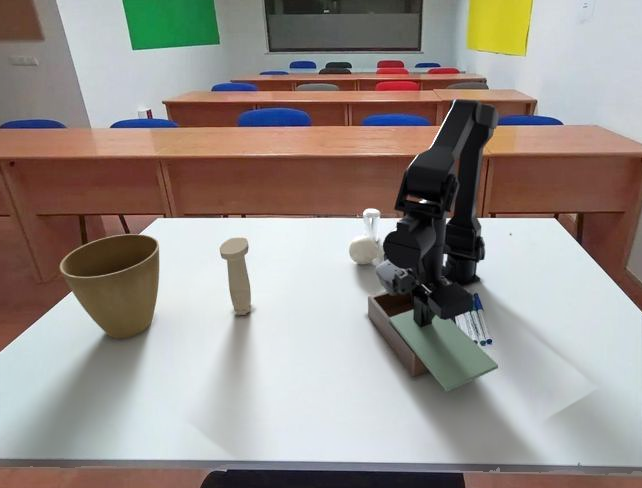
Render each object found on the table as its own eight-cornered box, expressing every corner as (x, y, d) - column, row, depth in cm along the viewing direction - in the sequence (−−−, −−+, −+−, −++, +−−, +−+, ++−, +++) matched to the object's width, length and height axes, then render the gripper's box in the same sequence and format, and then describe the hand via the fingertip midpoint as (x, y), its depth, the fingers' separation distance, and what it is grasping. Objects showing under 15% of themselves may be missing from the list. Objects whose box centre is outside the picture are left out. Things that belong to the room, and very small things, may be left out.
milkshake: (381, 245, 105) (381, 211, 102) (361, 243, 106) (361, 209, 103) (384, 237, 109) (384, 204, 106) (365, 235, 110) (365, 203, 107)
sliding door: (433, 305, 74) (435, 279, 72) (498, 368, 60) (502, 338, 58) (388, 320, 70) (389, 293, 68) (446, 391, 56) (449, 360, 54)
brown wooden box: (410, 301, 82) (411, 283, 81) (462, 356, 68) (464, 335, 67) (367, 315, 78) (367, 296, 77) (413, 376, 64) (414, 354, 62)
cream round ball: (369, 273, 93) (369, 247, 90) (344, 264, 96) (343, 239, 94) (383, 260, 98) (384, 236, 96) (359, 252, 102) (359, 229, 99)
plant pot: (63, 342, 71) (37, 266, 66) (135, 295, 84) (119, 228, 79) (124, 364, 66) (101, 284, 61) (190, 311, 79) (177, 240, 74)
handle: (258, 301, 83) (250, 237, 77) (251, 321, 77) (242, 253, 71) (235, 301, 82) (226, 237, 77) (226, 322, 76) (215, 254, 71)
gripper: (357, 226, 68) (358, 302, 73) (415, 280, 52) (411, 372, 57) (412, 214, 72) (409, 286, 78) (481, 261, 57) (471, 347, 62)
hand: (422, 318), depth 69 cm, fingers closed on sliding door, 2 cm apart
